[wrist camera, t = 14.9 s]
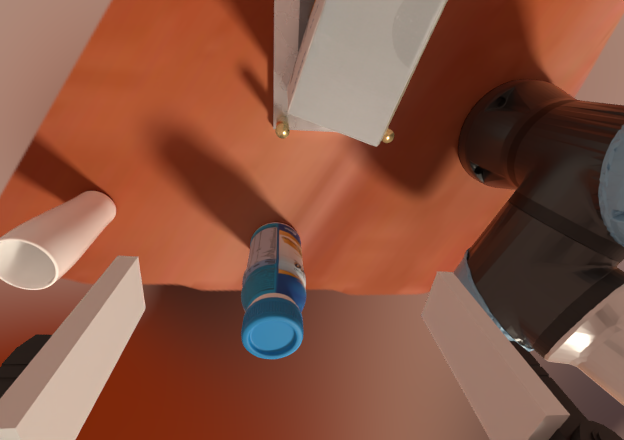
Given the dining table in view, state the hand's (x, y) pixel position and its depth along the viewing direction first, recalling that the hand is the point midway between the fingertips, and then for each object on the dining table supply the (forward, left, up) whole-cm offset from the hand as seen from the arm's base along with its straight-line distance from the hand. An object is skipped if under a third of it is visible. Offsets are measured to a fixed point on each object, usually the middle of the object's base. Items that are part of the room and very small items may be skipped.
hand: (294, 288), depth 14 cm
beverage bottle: (+1, +18, -33) cm, 38 cm away
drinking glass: (+27, +12, -33) cm, 45 cm away
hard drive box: (-6, -12, -32) cm, 34 cm away
